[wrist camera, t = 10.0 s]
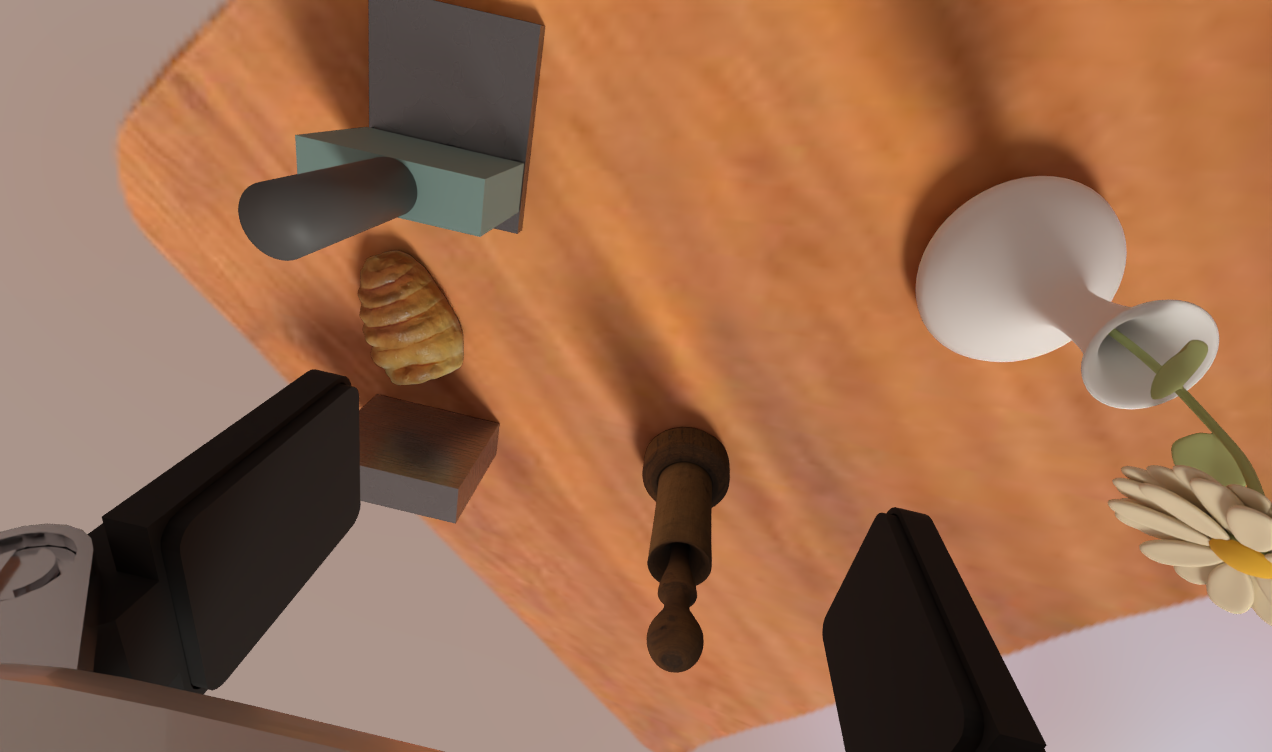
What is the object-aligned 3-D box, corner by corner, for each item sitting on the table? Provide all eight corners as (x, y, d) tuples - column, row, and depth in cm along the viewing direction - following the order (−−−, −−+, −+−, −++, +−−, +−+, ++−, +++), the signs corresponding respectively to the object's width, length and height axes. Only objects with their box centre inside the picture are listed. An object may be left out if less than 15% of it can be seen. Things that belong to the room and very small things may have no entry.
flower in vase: (895, 205, 36) (1193, 397, 14) (1106, 145, 33) (1894, 262, 11) (922, 388, 41) (1170, 745, 19) (1106, 349, 39) (1650, 710, 16)
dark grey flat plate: (377, -12, 34) (368, -15, 33) (545, 26, 34) (540, 25, 33) (377, 196, 40) (369, 199, 39) (521, 230, 39) (517, 233, 39)
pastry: (348, 258, 42) (316, 273, 39) (433, 238, 41) (408, 252, 37) (400, 375, 46) (375, 398, 42) (479, 360, 45) (460, 382, 41)
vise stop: (376, 394, 47) (311, 454, 39) (499, 423, 46) (458, 489, 39) (376, 425, 48) (313, 489, 40) (496, 454, 48) (455, 523, 40)
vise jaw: (366, 126, 36) (144, 152, 22) (524, 163, 36) (402, 213, 22) (366, 176, 38) (157, 231, 23) (518, 212, 38) (400, 288, 23)
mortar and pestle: (632, 476, 47) (591, 676, 31) (664, 413, 44) (638, 598, 28) (707, 507, 48) (704, 720, 32) (744, 447, 45) (762, 647, 29)
